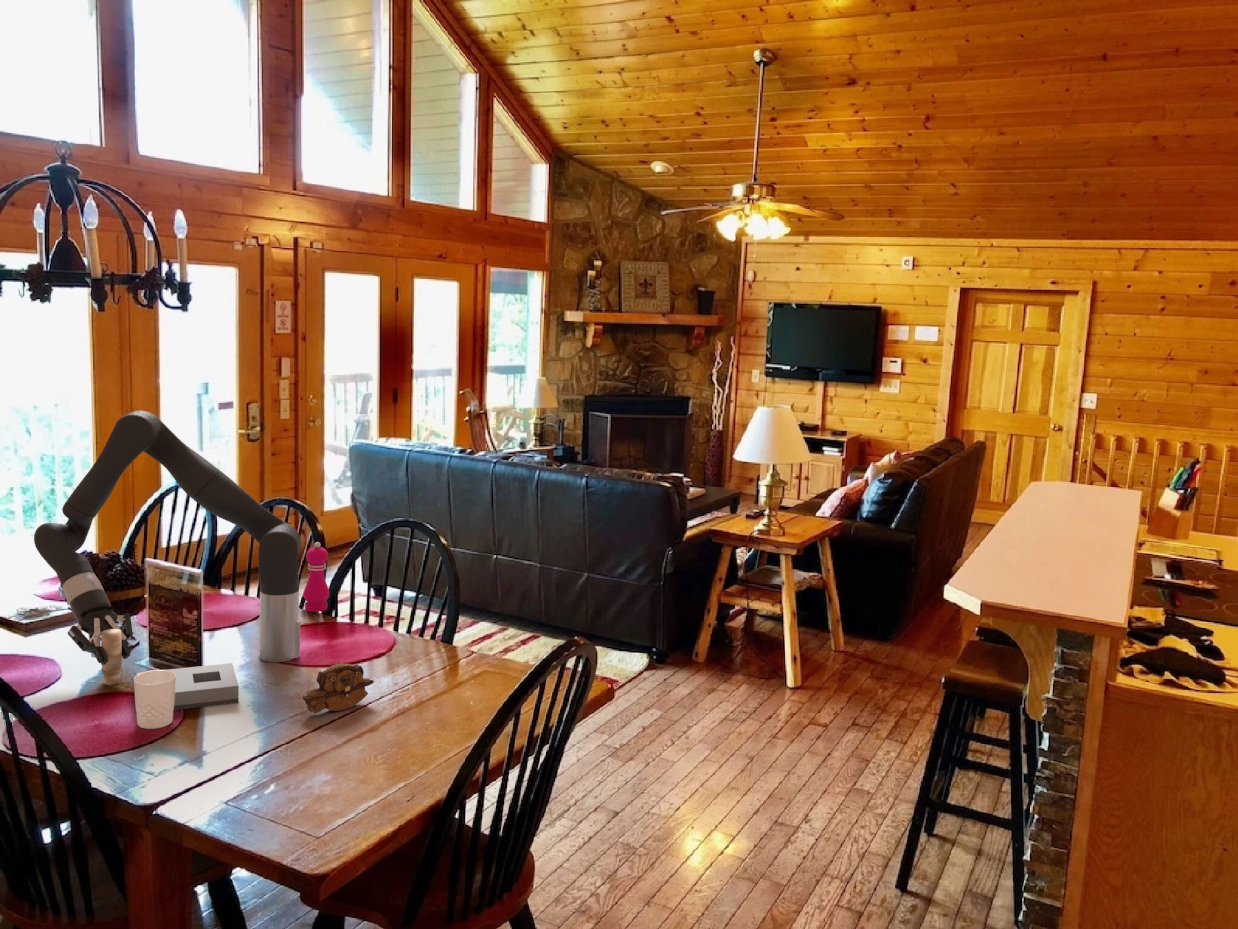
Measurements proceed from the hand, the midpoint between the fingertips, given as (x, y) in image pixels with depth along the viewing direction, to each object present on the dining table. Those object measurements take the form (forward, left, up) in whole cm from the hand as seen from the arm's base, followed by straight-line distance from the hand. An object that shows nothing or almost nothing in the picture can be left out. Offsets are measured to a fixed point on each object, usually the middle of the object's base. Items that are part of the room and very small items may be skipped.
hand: (116, 659), depth 217 cm
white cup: (-7, +23, -6) cm, 25 cm away
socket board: (-14, +11, -6) cm, 19 cm away
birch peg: (+1, -2, -6) cm, 6 cm away
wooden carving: (-44, +28, -6) cm, 53 cm away
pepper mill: (-51, -43, -6) cm, 67 cm away
